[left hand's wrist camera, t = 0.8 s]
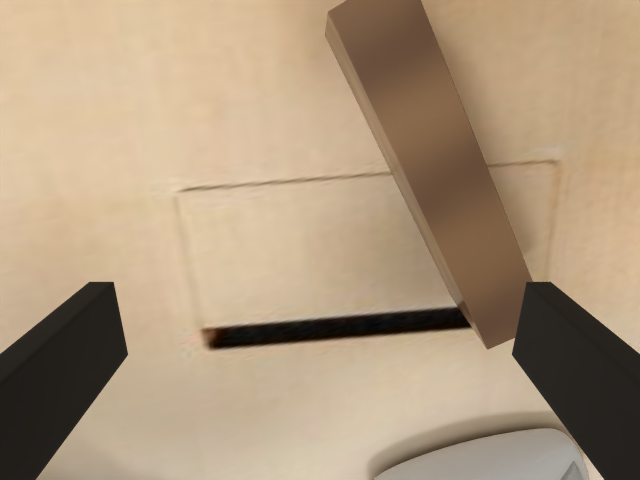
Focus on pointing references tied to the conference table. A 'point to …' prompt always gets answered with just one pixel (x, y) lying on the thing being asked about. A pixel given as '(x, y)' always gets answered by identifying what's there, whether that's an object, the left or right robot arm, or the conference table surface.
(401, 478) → the projector
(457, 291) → the bar
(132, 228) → the conference table surface
